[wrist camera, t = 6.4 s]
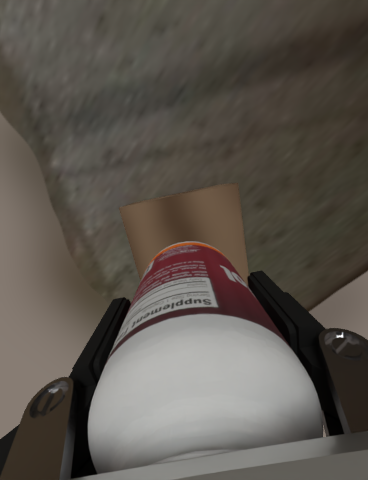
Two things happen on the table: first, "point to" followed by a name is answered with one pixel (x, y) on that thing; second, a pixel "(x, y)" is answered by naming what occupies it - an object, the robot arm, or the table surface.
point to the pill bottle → (197, 370)
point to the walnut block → (188, 224)
